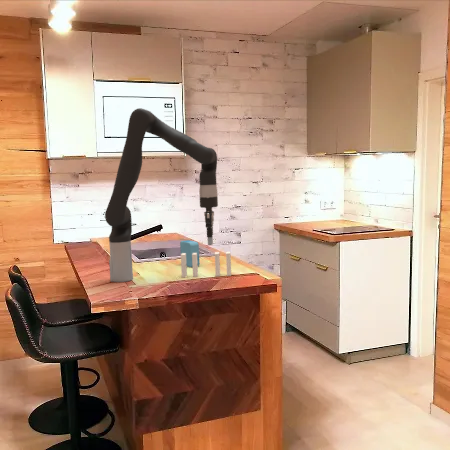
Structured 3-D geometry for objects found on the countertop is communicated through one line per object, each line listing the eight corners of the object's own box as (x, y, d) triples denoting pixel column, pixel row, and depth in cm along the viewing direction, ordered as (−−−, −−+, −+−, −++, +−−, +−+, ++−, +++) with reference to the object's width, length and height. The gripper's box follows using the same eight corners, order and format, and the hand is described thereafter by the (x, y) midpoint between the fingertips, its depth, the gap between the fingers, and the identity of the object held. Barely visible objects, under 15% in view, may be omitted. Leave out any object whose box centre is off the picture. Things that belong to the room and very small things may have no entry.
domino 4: (215, 276, 222) (214, 253, 221) (216, 274, 227) (215, 252, 226) (219, 276, 222) (218, 253, 221) (220, 273, 227) (219, 251, 226)
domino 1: (181, 277, 223) (180, 255, 222) (183, 275, 228) (181, 253, 227) (185, 277, 223) (184, 254, 222) (187, 274, 228) (186, 253, 227)
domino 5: (226, 275, 222) (226, 253, 221) (227, 273, 227) (226, 251, 226) (231, 275, 222) (230, 253, 221) (231, 273, 227) (230, 251, 226)
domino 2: (192, 277, 223) (191, 254, 222) (194, 274, 228) (192, 252, 227) (197, 276, 223) (196, 254, 222) (198, 274, 228) (197, 252, 227)
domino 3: (207, 245, 210) (206, 221, 209) (208, 243, 215) (207, 220, 214) (212, 245, 210) (211, 221, 209) (212, 243, 215) (212, 220, 214)
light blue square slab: (199, 266, 247) (198, 242, 246) (191, 267, 245) (190, 243, 244) (189, 263, 258) (187, 239, 256) (181, 264, 255) (179, 240, 254)
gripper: (200, 195, 217) (202, 234, 219) (198, 197, 203) (199, 239, 205) (218, 194, 217) (219, 233, 219) (216, 196, 203) (218, 238, 205)
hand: (210, 236), depth 212 cm, fingers closed on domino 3, 5 cm apart
